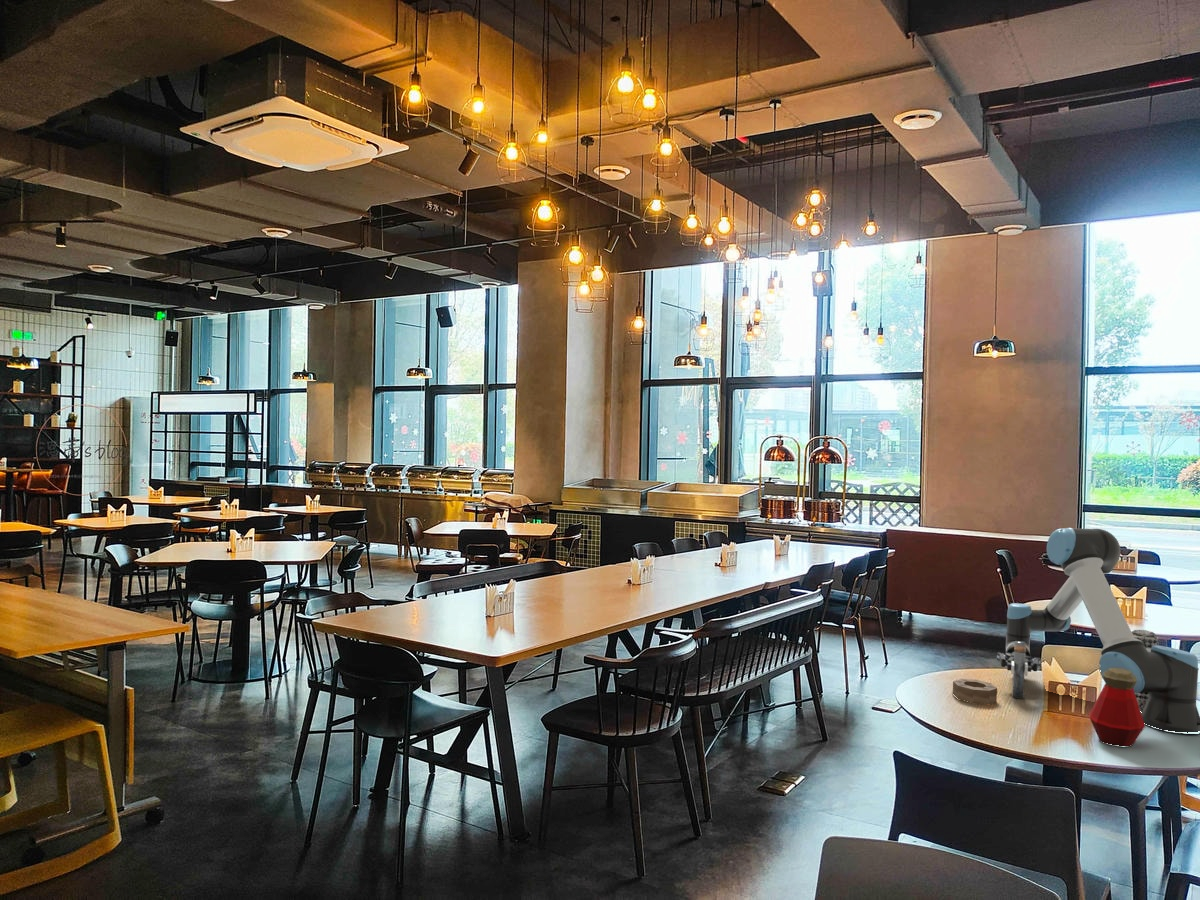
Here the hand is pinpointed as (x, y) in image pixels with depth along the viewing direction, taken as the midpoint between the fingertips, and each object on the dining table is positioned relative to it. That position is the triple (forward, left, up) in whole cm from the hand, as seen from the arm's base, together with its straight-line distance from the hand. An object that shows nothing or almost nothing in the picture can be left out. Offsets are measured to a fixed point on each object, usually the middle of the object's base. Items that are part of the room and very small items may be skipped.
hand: (1019, 670), depth 267 cm
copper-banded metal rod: (+5, -2, -10) cm, 11 cm away
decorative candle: (0, -37, -10) cm, 38 cm away
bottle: (-32, -14, -10) cm, 36 cm away
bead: (+1, +13, -10) cm, 17 cm away
